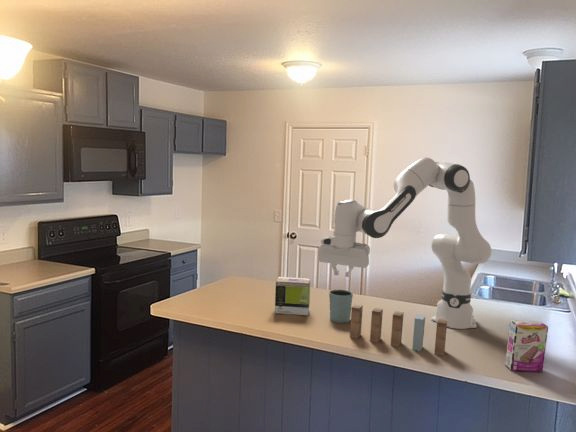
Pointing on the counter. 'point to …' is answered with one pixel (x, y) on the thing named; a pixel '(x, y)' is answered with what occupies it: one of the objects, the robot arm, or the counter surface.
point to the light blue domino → (418, 332)
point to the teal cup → (340, 305)
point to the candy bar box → (526, 346)
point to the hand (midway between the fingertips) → (342, 275)
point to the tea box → (292, 295)
